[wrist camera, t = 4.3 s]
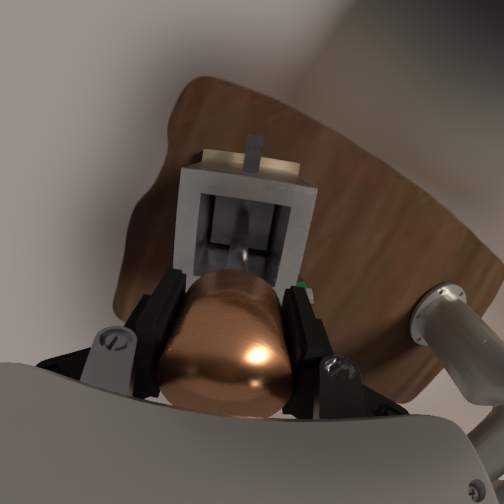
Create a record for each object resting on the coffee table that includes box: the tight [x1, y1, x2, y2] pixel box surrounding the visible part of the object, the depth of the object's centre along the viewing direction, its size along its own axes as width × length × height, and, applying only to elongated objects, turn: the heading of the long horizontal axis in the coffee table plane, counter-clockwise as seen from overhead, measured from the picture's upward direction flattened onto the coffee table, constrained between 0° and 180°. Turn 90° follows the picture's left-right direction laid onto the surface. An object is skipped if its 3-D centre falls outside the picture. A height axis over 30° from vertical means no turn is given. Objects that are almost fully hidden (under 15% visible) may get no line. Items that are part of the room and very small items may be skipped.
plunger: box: [156, 195, 294, 418], centre depth 17 cm, size 5×5×20 cm
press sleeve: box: [173, 134, 318, 305], centre depth 25 cm, size 9×12×14 cm
